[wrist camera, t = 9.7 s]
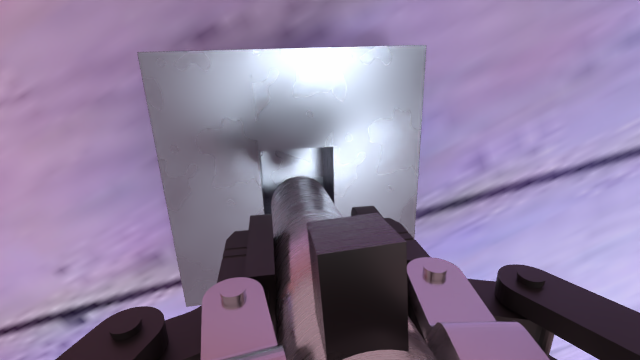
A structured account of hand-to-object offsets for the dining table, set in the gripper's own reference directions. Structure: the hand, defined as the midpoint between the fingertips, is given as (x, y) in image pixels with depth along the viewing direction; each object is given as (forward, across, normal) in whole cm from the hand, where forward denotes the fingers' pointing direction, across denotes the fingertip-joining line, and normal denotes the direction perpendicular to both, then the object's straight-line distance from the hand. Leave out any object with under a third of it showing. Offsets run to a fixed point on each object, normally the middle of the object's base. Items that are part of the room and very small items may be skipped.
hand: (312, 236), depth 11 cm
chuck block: (+12, 0, +4) cm, 13 cm away
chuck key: (+5, 0, +1) cm, 5 cm away
